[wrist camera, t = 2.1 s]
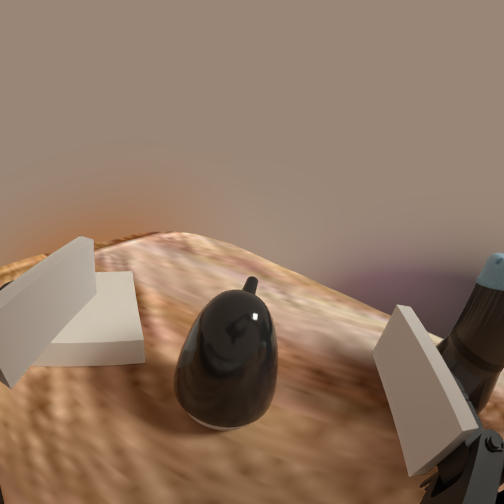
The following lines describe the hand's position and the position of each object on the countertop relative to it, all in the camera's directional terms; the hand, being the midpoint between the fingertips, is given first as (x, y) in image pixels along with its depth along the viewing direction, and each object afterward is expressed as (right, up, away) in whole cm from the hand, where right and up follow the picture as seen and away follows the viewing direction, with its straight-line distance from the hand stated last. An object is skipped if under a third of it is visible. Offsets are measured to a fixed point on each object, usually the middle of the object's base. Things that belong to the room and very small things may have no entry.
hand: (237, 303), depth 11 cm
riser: (-23, -8, +23) cm, 34 cm away
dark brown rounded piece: (-3, -15, +17) cm, 23 cm away
